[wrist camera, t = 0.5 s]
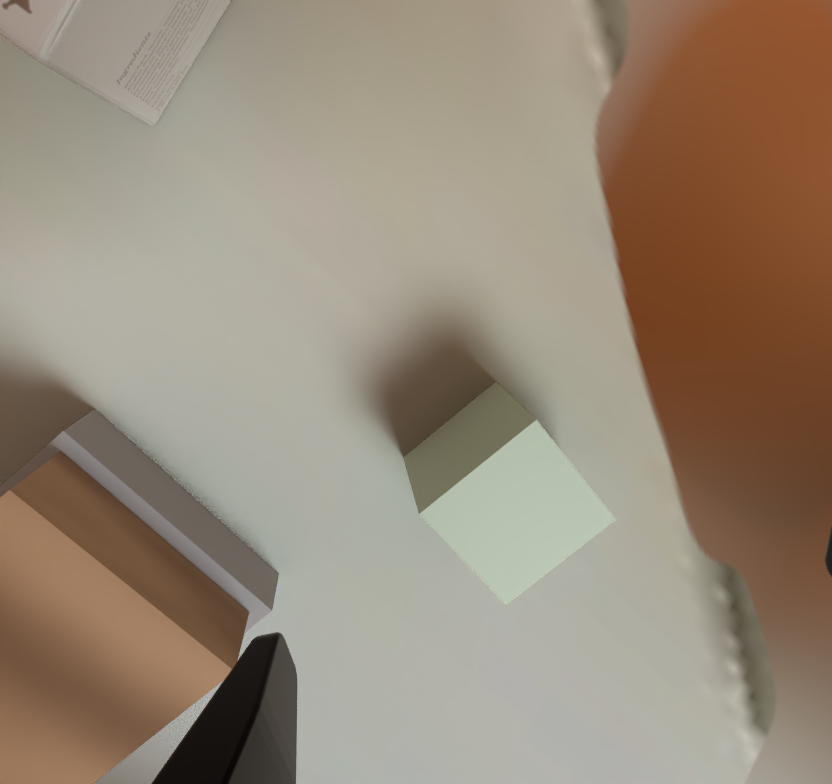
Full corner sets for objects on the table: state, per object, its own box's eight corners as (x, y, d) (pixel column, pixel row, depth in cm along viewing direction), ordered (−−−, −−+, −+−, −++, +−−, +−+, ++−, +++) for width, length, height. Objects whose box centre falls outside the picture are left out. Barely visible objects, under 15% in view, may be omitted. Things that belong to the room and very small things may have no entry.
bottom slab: (115, 699, 25) (86, 759, 22) (-80, 561, 22) (-142, 610, 19) (280, 566, 24) (271, 610, 21) (100, 404, 21) (63, 430, 18)
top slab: (80, 747, 22) (40, 824, 19) (-124, 609, 19) (-206, 675, 16) (249, 612, 21) (234, 671, 18) (61, 450, 19) (9, 489, 16)
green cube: (474, 533, 24) (505, 605, 20) (402, 456, 23) (418, 514, 18) (561, 463, 24) (616, 519, 19) (495, 380, 23) (536, 419, 18)
